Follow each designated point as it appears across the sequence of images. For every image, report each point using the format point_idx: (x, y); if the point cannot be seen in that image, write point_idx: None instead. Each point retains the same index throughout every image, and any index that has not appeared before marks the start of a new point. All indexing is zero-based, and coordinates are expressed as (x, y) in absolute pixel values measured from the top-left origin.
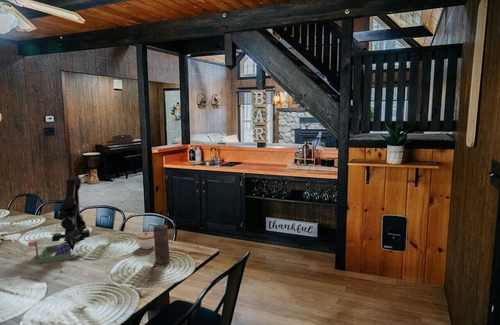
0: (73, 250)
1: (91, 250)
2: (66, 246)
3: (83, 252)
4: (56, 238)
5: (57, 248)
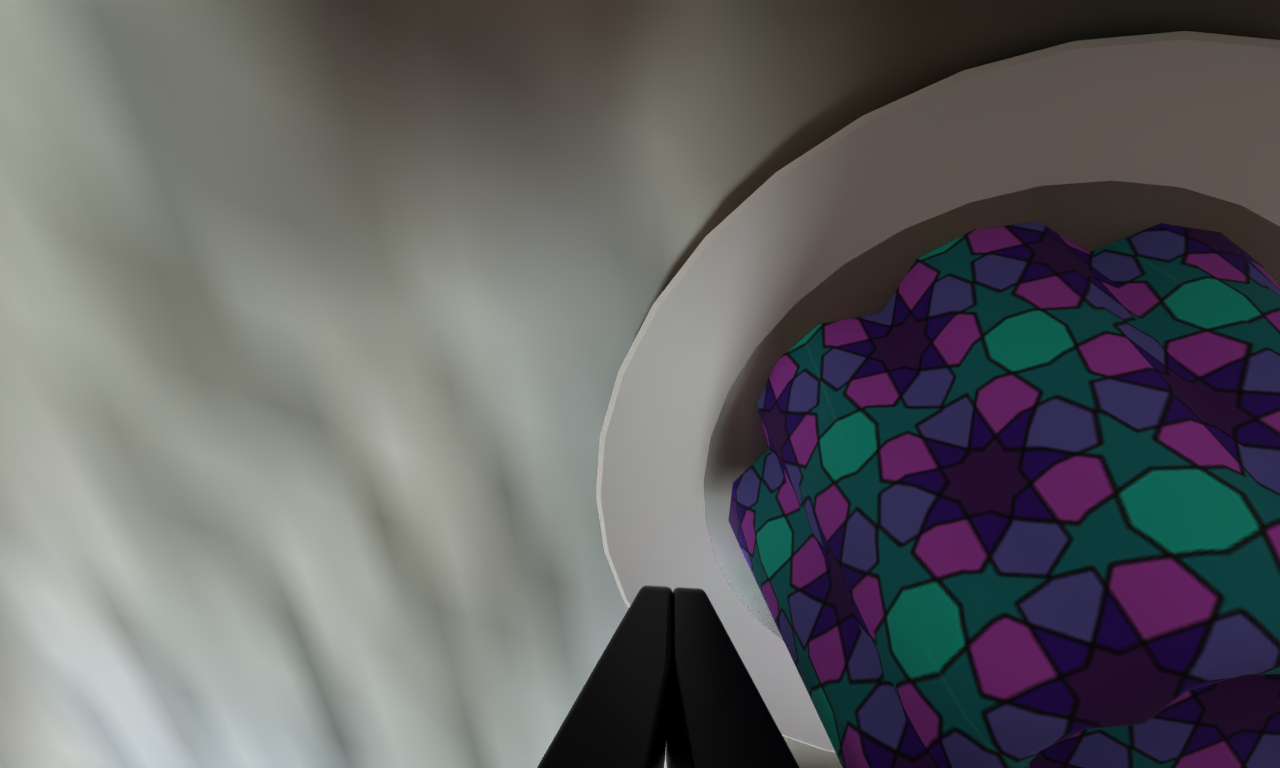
0: None
1: (40, 453)
2: (1023, 743)
3: (283, 384)
4: None
5: None
